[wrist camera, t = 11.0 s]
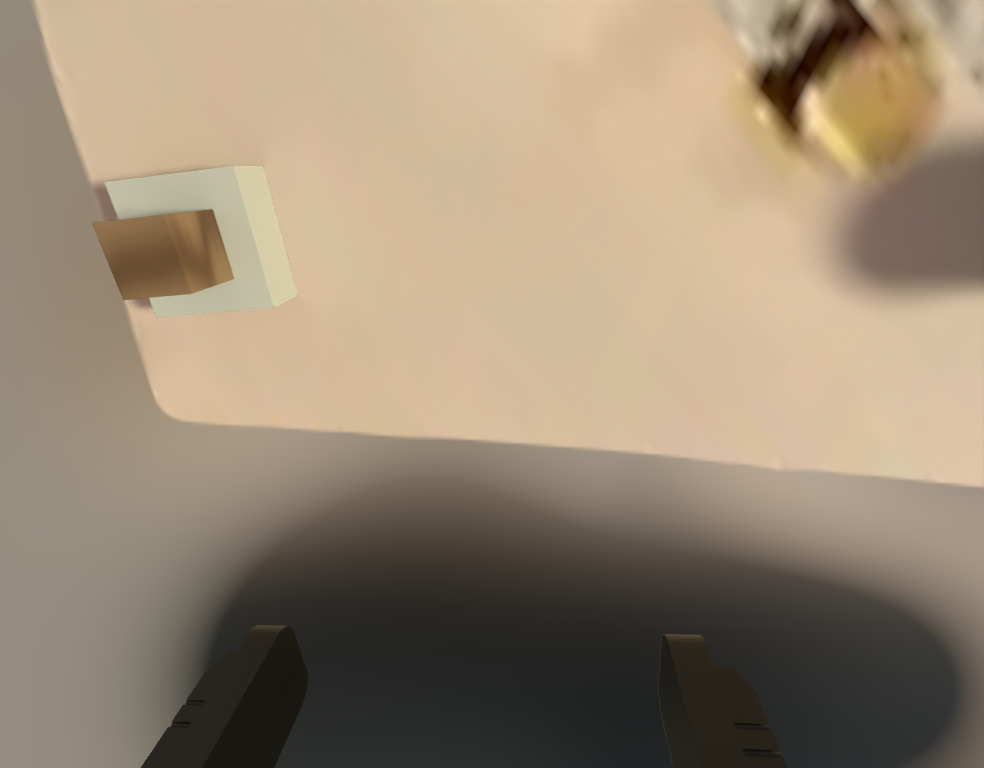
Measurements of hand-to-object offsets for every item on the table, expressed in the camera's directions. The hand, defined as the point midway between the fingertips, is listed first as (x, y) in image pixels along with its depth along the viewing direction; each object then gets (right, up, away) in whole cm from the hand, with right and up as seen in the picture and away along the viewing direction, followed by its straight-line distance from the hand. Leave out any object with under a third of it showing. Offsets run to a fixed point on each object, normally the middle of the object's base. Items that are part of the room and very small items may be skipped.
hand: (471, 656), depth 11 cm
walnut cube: (-22, +16, +26) cm, 37 cm away
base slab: (-21, +18, +29) cm, 40 cm away
